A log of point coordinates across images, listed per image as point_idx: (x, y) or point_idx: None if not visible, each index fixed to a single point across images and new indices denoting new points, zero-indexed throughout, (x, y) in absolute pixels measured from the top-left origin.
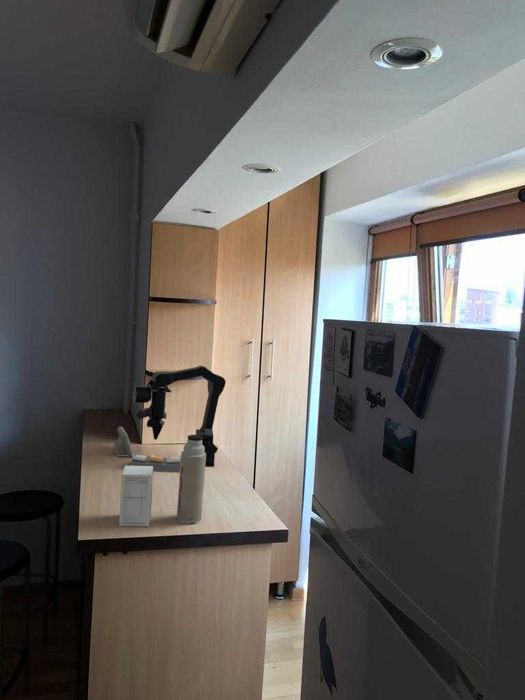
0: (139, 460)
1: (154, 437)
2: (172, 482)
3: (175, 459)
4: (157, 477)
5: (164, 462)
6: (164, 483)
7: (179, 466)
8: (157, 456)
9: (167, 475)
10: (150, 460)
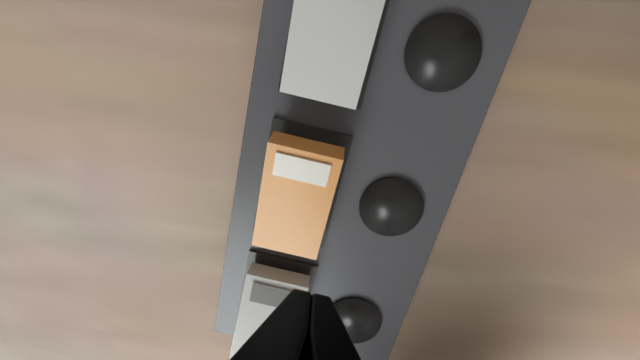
0: None
1: (275, 318)
2: (42, 226)
3: (234, 334)
4: (121, 150)
5: None
6: (13, 177)
7: (216, 322)
8: (315, 213)
9: (170, 219)
10: (331, 140)
